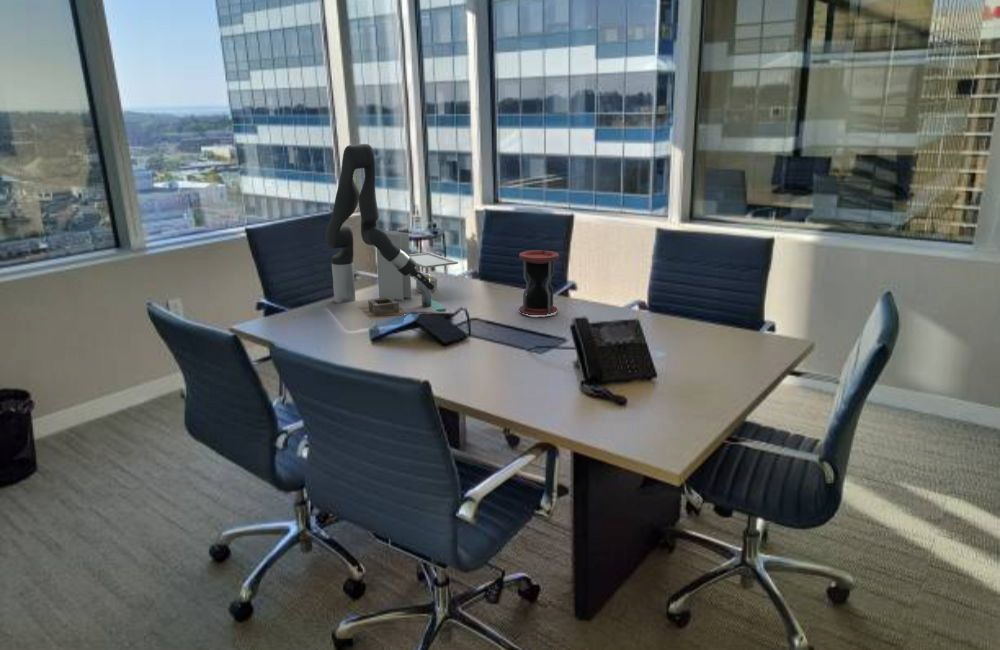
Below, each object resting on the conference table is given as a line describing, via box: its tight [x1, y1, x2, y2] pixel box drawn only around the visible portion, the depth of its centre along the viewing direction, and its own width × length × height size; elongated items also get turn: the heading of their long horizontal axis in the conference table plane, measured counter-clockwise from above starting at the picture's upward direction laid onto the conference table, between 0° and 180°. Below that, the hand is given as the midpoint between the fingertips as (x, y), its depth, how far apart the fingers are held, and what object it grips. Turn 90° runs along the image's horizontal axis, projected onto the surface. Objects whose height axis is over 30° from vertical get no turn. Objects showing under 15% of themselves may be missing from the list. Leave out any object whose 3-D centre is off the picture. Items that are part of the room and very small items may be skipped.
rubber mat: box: [430, 300, 447, 312], centre depth 294 cm, size 14×12×1 cm
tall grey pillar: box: [375, 230, 412, 301], centre depth 304 cm, size 14×6×30 cm, turn 58°
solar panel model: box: [410, 251, 459, 293], centre depth 322 cm, size 28×17×15 cm, turn 34°
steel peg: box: [420, 272, 432, 308], centre depth 292 cm, size 4×4×14 cm
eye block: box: [358, 297, 408, 320], centre depth 286 cm, size 20×16×5 cm
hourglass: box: [518, 249, 560, 315], centre depth 284 cm, size 16×16×25 cm
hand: (429, 286), depth 292 cm, fingers open, 7 cm apart
